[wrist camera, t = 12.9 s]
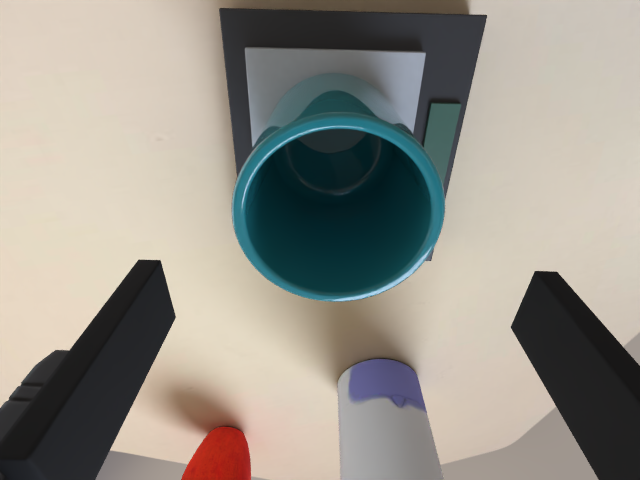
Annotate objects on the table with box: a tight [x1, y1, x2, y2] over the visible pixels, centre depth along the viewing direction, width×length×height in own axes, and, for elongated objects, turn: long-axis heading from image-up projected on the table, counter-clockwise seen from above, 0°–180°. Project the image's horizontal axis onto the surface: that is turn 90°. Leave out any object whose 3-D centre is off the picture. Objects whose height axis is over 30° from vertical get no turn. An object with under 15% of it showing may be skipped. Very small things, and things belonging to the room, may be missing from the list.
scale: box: [219, 8, 487, 261], centre depth 27 cm, size 18×16×4 cm
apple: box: [181, 427, 251, 480], centre depth 46 cm, size 9×9×11 cm
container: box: [337, 359, 444, 480], centre depth 36 cm, size 10×10×20 cm
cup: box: [232, 73, 445, 302], centre depth 21 cm, size 9×12×11 cm
